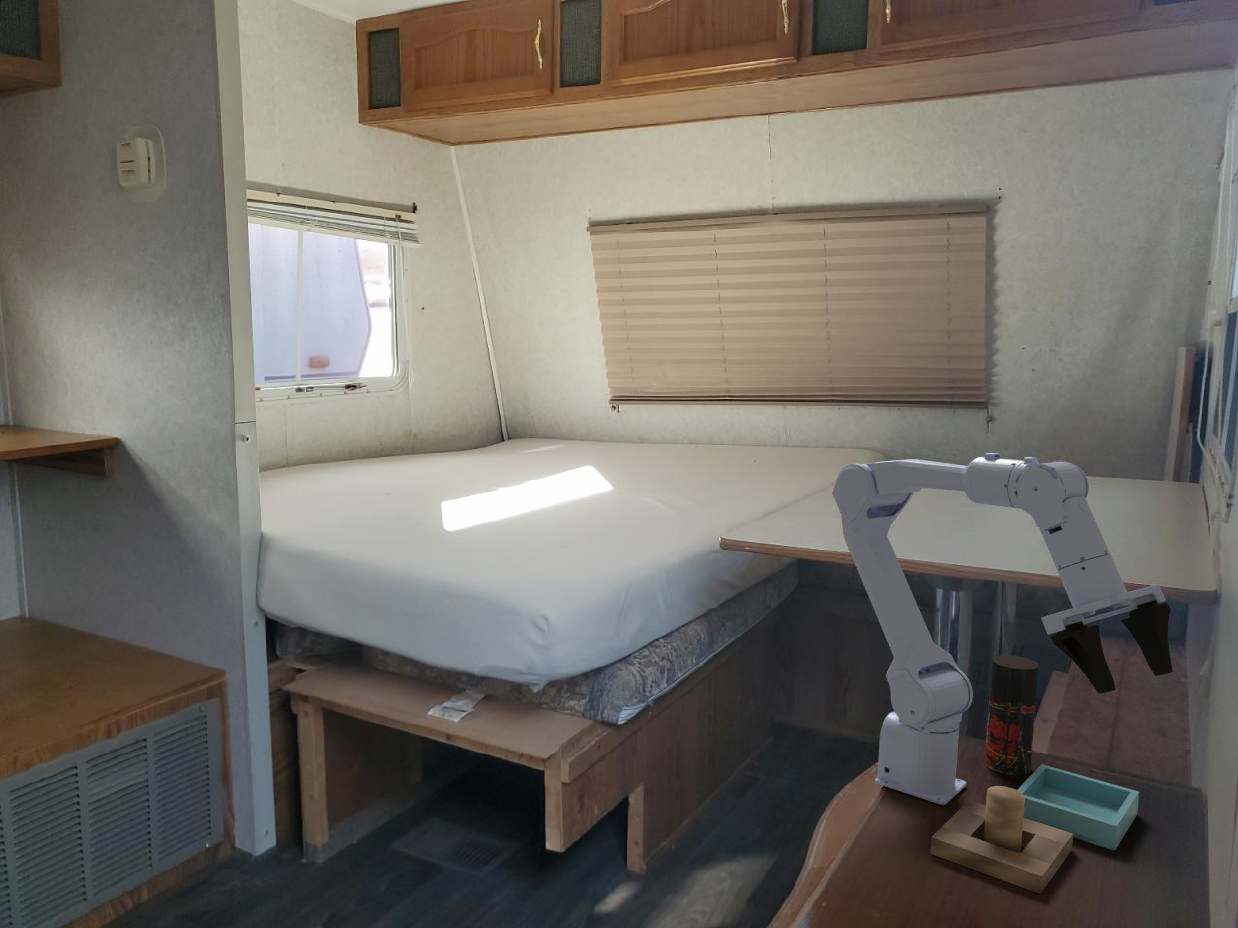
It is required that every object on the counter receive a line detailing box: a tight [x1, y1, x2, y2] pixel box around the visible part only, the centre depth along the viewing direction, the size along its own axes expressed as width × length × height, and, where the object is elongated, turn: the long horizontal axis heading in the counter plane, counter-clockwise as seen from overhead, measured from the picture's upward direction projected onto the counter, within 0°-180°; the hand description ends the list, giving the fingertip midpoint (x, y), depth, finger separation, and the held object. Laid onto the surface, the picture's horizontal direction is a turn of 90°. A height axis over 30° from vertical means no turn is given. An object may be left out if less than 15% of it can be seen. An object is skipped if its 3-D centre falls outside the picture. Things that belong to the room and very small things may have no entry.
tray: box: [1017, 763, 1140, 852], centre depth 117 cm, size 12×12×3 cm
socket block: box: [929, 800, 1074, 895], centre depth 108 cm, size 12×12×2 cm
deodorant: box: [984, 654, 1040, 777], centre depth 130 cm, size 6×6×15 cm
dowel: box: [983, 785, 1025, 853], centre depth 108 cm, size 4×4×7 cm
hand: (1136, 682), depth 101 cm, fingers open, 7 cm apart
